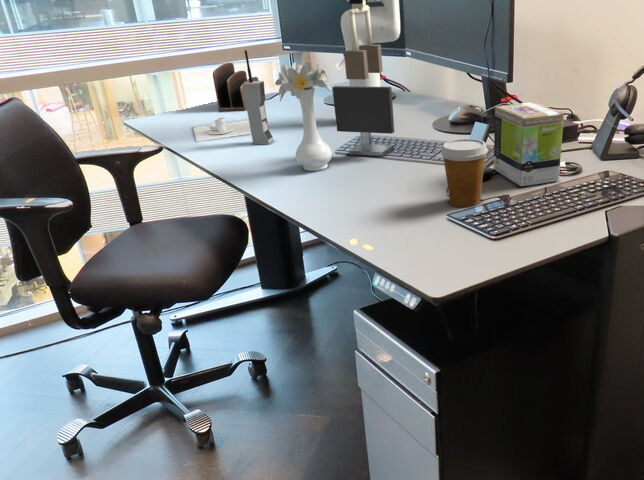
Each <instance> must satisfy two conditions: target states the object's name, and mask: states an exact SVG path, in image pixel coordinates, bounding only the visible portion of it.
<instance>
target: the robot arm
mask: <svg viewBox="0 0 644 480" xmlns="http://www.w3.org/2000/svg"><path fill="white" fill-rule="evenodd" d="M346 1H347V2H348V3H349V4H350V5H352V4H362V3H363V0H346ZM377 2H379V3H380V2H381V3H382V4H383V5H382V6H371V7H370V6H369V10H370V23H371V35H372V45H374V44H381V43H392V42H395V41H397V40H398V39H399V38H400V35H401V14H400V13H401V12H400V0H366V3H377ZM351 9H352V8H351ZM351 9H347V10H346V11H344V12H343V14H341V17H340V28H341V33H342V37H343V41H344V48H345V51H346V50H352V41H351V30H350V19H349V10H351ZM355 26H356V37H357V49H358V50H359V46H360V45H367V36H366V24H365V12H362V13H359V14H355ZM368 76H369V78H368V79H365V80H362V79H348V81H349V86H362V87H382V85H381V84H382V83H381V73H368Z"/></svg>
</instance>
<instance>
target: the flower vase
mask: <svg viewBox="0 0 644 480" xmlns="http://www.w3.org/2000/svg"><path fill="white" fill-rule="evenodd" d="M328 81H329V76H328V75H327V73H326V71H325V70H324V69H322V67H321V65H320V62H319V61H318V60H317V62H316V69H313V66H312V64H311V63H310V62H309V61H305V62H304V65H301V64H297V63H296V62H293V63H292V64H291V66H290V67H289V66H288V65H287V64H286V63H283V64H282V67H280V71H279V72H278V79H276V81H275V84H274V85H275V86H280V87H279V88H278V96H280V97H279V102H281V101H282V99H283V97H284V96H285V94H286V92H290V95H291V96H292V97H296V99H298V100H299V103H300V107H301V115H302V123H303V134H302V139H301V142H300V144H299V145H298V146H297V148H296V151H295V159H296V161H297V162H298V164H300V165H301V166H303V167H302V168H303V170H304V171H308V172H317V171H322V170H325V169H327V168H328V166H329V165H328V163H329V162H330V161H331V159H332V157H333V150H332V148H331V146H330V145H329V144H328V143H327V142H326V141H324V139H323V138H322V136H321V134H320V133H319V132H320V131H319V129H318V125H317V121H316V113H315V106H314V96H315V95H314V93H315V90H316V89H315V87H314V86H317V87H320V88H325V89H327V90H328V91H330V92H331V93H333V90H332V88H331V86H330V85H329V84H328Z"/></svg>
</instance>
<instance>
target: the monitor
mask: <svg viewBox="0 0 644 480" xmlns="http://www.w3.org/2000/svg"><path fill="white" fill-rule="evenodd" d="M331 89H332V91H333V92H332V98H333V106H334V114H335V115H334V116H335V124H336V132H341V133H342V132H344V133H359V135H360V143H359V144H357V145H355V146H354V147H352V148H351V149H349V150H348V155H349V156H361V157H362V156H363V157H378V158H379V157H380V158H382V157H385V156H387V155H388V154H389V153H391V152H392V151H393V150H394V144H377V143H372V134H393V133H395V121H394V107H393V106H394V105H393V91H392V86H381V87H362V86H350V85H334V86H332V88H331Z"/></svg>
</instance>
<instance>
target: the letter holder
mask: <svg viewBox="0 0 644 480" xmlns="http://www.w3.org/2000/svg"><path fill="white" fill-rule="evenodd" d="M247 75H248V74H247V72H246V70H238V71H236V70H235V65H234V63H233V62H226V63H223V64H221V65H220V66H218V67H216V68H215V69H214V70H213V71H212V79H213V84H214V91H215V97H216V101H217V106H218V111H219V112H235V111H236V112H237V111H247V107H246V102H245V96H244V90H243V84H244V83H246V82H248V81H249V78H248V76H247ZM252 80H253V81H260V80H259V78H258V77H257V76H252Z"/></svg>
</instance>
